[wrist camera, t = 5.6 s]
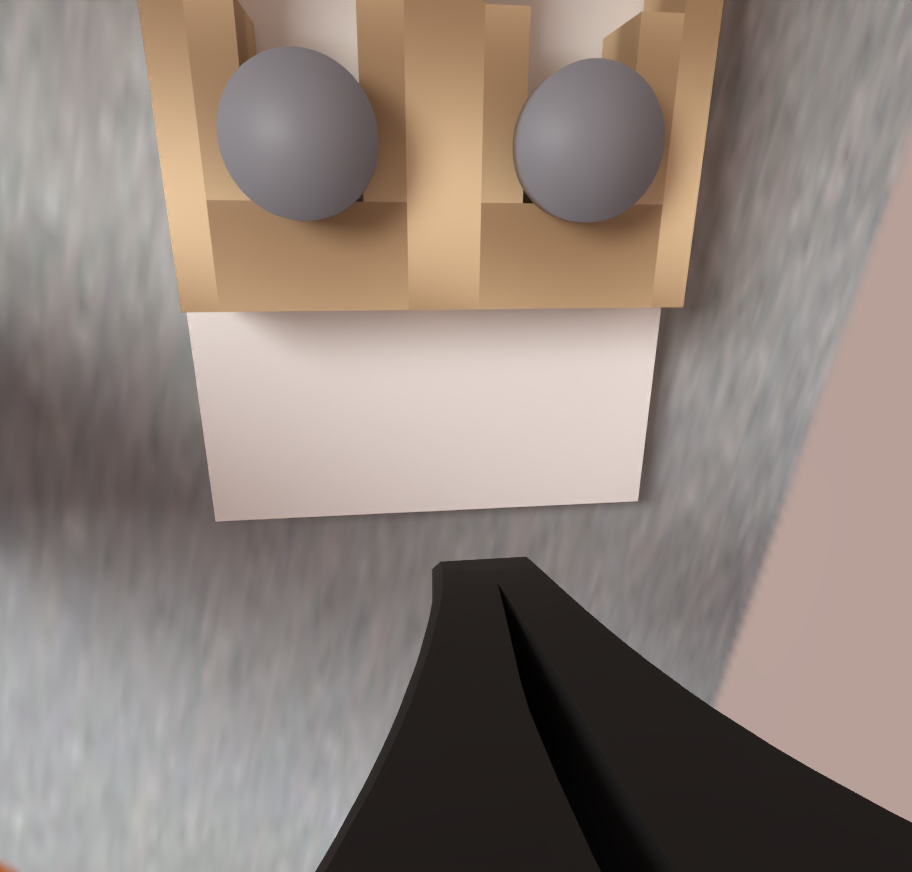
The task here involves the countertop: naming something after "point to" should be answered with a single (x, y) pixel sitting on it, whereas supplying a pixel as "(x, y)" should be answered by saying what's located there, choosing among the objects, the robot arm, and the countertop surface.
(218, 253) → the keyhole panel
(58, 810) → the countertop surface
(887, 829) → the robot arm
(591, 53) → the mounting plate
